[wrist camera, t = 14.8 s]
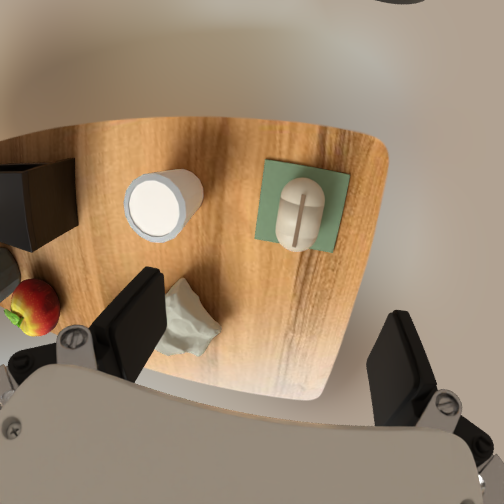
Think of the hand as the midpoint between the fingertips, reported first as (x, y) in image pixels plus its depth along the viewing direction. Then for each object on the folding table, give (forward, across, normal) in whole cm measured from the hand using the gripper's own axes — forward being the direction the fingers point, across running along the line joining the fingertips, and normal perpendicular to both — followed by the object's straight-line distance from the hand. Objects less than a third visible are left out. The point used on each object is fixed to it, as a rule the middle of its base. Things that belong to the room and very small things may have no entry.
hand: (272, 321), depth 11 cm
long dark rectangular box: (+21, +42, +3) cm, 47 cm away
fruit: (+21, +42, +24) cm, 52 cm away
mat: (+21, -1, +1) cm, 21 cm away
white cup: (+21, +12, +2) cm, 25 cm away
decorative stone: (+21, +11, +18) cm, 30 cm away
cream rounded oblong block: (+21, -1, +1) cm, 21 cm away
